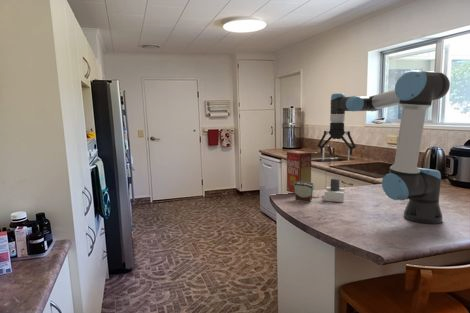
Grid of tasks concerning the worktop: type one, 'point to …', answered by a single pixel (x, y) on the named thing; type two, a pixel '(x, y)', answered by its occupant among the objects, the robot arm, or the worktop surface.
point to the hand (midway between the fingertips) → (335, 160)
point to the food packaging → (298, 168)
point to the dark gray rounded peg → (335, 184)
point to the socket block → (334, 195)
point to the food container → (303, 191)
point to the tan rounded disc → (315, 196)
